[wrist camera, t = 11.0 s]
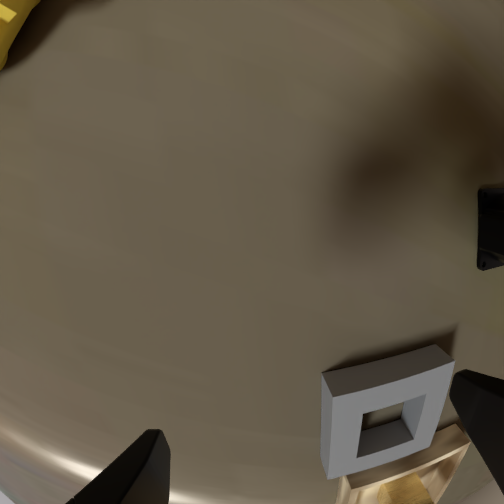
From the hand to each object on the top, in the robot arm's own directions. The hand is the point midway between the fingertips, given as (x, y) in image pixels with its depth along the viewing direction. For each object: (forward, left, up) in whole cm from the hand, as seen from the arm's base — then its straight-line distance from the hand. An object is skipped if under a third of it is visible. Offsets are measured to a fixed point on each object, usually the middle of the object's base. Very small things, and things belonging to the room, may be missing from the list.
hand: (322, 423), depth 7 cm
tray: (-12, +26, -12) cm, 31 cm away
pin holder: (-8, +12, -12) cm, 19 cm away
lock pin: (-12, +26, -11) cm, 31 cm away
